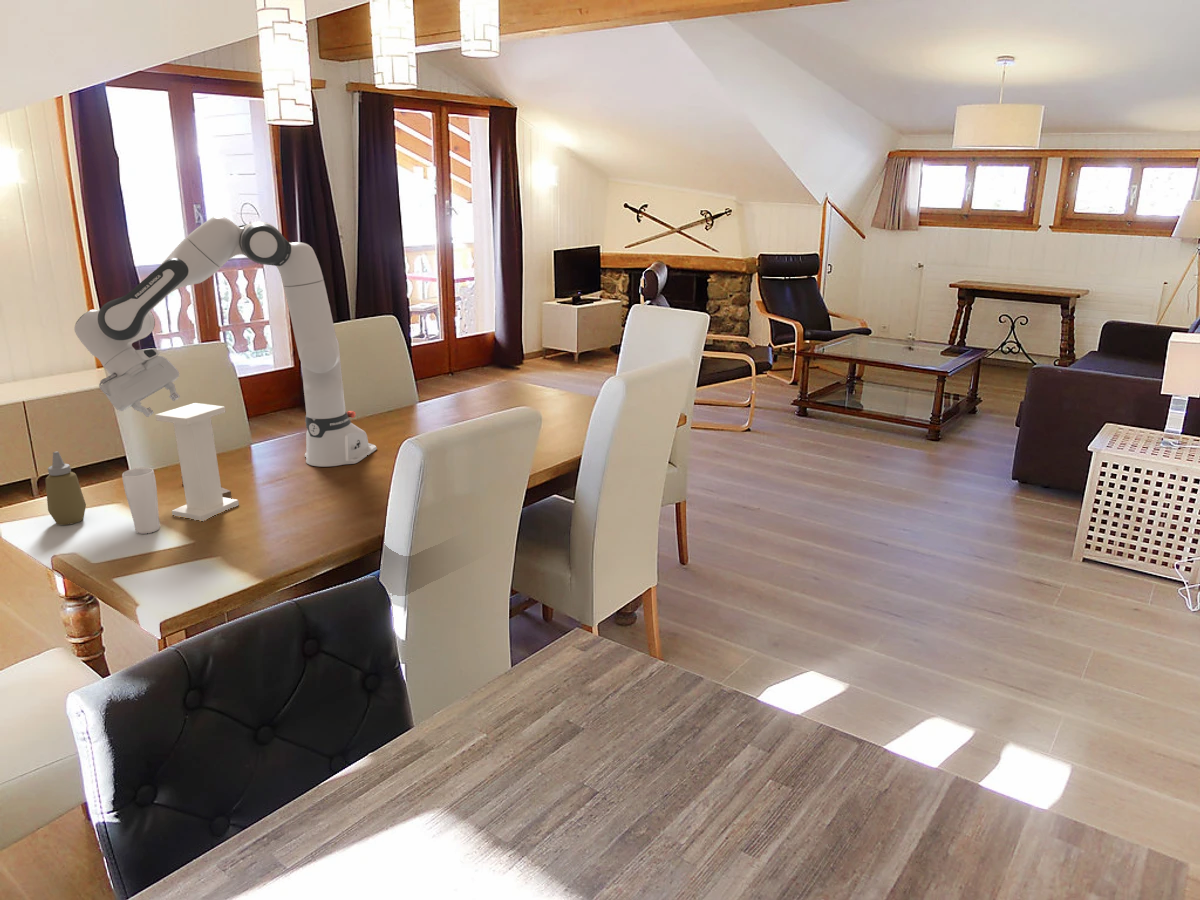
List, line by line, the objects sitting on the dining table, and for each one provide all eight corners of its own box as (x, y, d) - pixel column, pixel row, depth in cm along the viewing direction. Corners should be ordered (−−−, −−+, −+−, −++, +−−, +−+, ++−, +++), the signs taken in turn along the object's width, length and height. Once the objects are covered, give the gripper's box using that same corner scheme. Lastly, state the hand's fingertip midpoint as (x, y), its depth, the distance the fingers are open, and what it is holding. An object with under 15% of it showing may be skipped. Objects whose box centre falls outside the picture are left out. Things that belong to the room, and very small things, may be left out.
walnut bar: (191, 482, 241) (190, 473, 240) (232, 499, 228) (230, 491, 227) (182, 484, 239) (181, 476, 239) (223, 502, 226) (221, 493, 225)
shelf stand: (209, 499, 227) (194, 402, 219) (238, 505, 223) (224, 406, 215) (172, 516, 216) (155, 414, 208) (202, 521, 213) (186, 418, 204)
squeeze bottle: (49, 529, 208) (34, 459, 203) (52, 518, 215) (37, 450, 209) (88, 523, 212) (74, 454, 206) (89, 512, 218) (76, 445, 213)
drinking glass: (169, 525, 210) (159, 467, 206) (153, 536, 204) (142, 477, 199) (143, 524, 211) (133, 466, 207) (126, 535, 205) (115, 476, 200)
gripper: (100, 377, 218) (139, 419, 221) (160, 345, 234) (196, 385, 237) (90, 388, 221) (129, 430, 224) (150, 356, 238) (185, 395, 241)
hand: (164, 406), depth 231 cm, fingers open, 8 cm apart
